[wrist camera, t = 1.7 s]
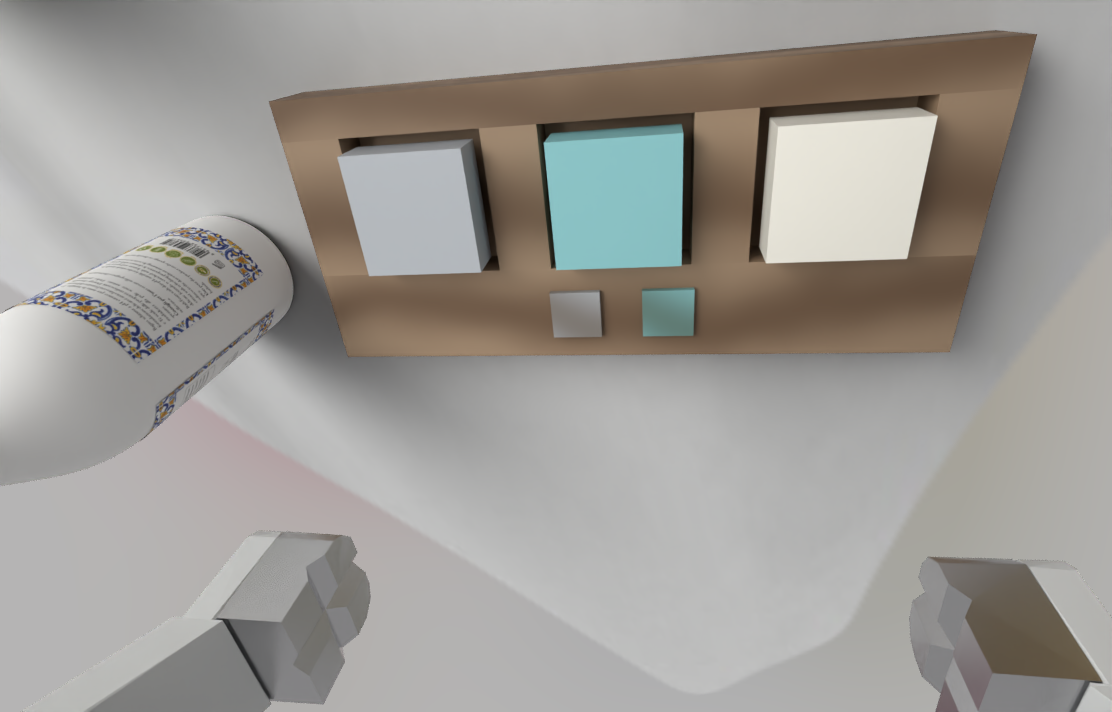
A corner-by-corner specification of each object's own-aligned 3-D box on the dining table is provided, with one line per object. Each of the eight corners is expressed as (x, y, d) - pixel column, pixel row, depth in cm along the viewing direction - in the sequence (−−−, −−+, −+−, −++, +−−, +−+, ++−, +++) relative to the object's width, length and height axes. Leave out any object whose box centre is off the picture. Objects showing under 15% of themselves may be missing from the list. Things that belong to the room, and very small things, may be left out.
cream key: (769, 117, 24) (778, 126, 23) (917, 107, 23) (937, 115, 22) (759, 246, 27) (765, 263, 25) (890, 242, 26) (906, 259, 24)
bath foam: (164, 209, 33) (-353, 433, 16) (281, 214, 32) (-135, 456, 15) (203, 320, 37) (-187, 600, 20) (309, 327, 36) (-3, 626, 19)
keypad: (303, 92, 29) (265, 102, 26) (995, 30, 24) (1041, 34, 21) (370, 330, 35) (345, 359, 32) (924, 322, 30) (952, 355, 27)
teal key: (551, 133, 26) (543, 142, 24) (681, 123, 25) (683, 133, 23) (562, 253, 29) (556, 269, 27) (680, 249, 28) (681, 266, 26)
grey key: (357, 146, 27) (337, 156, 26) (472, 138, 26) (460, 148, 25) (385, 260, 30) (369, 276, 28) (491, 256, 29) (481, 272, 27)
